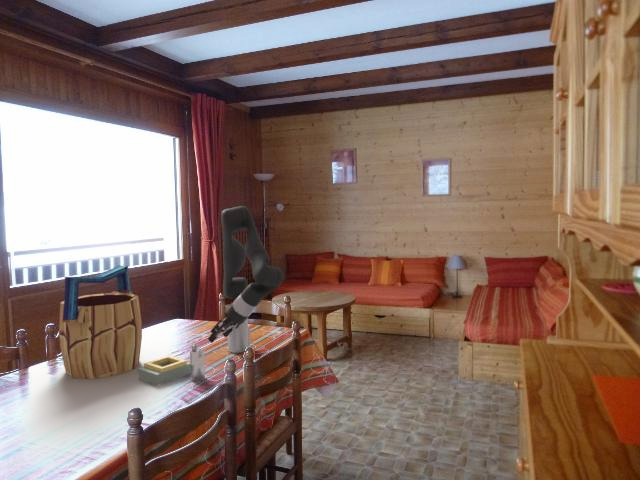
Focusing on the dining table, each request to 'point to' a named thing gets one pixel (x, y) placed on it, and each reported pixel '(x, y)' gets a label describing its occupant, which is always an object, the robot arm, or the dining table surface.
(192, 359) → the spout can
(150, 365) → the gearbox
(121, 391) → the dining table surface
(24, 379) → the dining table surface
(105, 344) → the bucket
